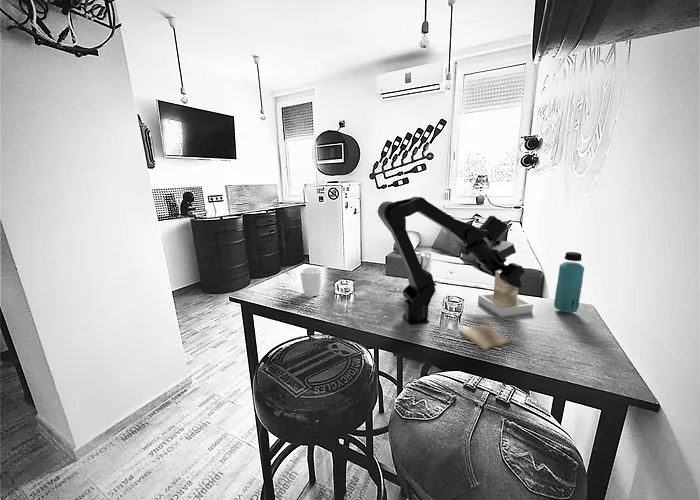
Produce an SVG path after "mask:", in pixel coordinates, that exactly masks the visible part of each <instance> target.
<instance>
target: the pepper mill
mask: <svg viewBox="0 0 700 500" xmlns="http://www.w3.org/2000/svg"><path fill="white" fill-rule="evenodd" d="M501 272H502V271H499V270H498V271H496V273H495V277H494V286H493V293H494V294H493V302H494V303H495V304H497V305H498V306H500V307H509V306H516V303H517V297H518V294H519V288H517V287H514V286H512V285H509V284H507V283H504V282H503V281H502V280H501V279H500V278H499V277H500V273H501Z"/></svg>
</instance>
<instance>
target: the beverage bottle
mask: <svg viewBox="0 0 700 500" xmlns="http://www.w3.org/2000/svg"><path fill="white" fill-rule="evenodd" d="M564 260H566V261H564V262H562V263H561V264H560V265H559V269H558V275H557V283H556V285H555V287H556V288H555V295H554V298H553V299H554V302H553V307H554V308H555V309H556V310H558V311H561V312H565V313H573V314H574V313H577V312H578V311H579V310H578V309H579V308H580V301H581V299H580V298H581V293H582V286H583V281H584V272H585V267H584V266H583V265H582V264H581V263H579V262H581V261H582V253H580V252H577V251H567V252H565V255H564Z"/></svg>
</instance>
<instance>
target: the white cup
mask: <svg viewBox="0 0 700 500" xmlns="http://www.w3.org/2000/svg"><path fill="white" fill-rule="evenodd" d="M321 271H322V269H321V268H318V267H307V268H303V269H301V270H300V278H301V279H300V280H301V284H302V286H301V287H302V289H303V290H302V291H303V296H304V295H305V296H307V297H306V298H314V297H313V296H317V295H319V294H320V295H321V290H322V289H321V287H322V279H321V278H322V272H321ZM320 295H319V296H320ZM305 296H304V297H305ZM317 297H318V296H317Z"/></svg>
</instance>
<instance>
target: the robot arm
mask: <svg viewBox="0 0 700 500" xmlns="http://www.w3.org/2000/svg"><path fill="white" fill-rule="evenodd" d="M416 213H419V214H420V215H422V216H423V217H425V218H427V219H428V220H429V221H431V222H434V223H435V224H436V225H438V226H440V227H441V228H442V229H444V230H445V231H446V233H447V234H448V235H449V236H450V237H451V238H452V239H454V240H455V241H457V242H461V243H463V244H464V245H461V247H460V251H459V253H460V254H462V255H465V256H469V255H472V257H473V258H474V259H473V260H471V266H472V267H473V268H474V269H476V270H478V271H480V272H482V273H484V274H487V275H489V276H491V277H494V278H495V273H496V271H502V272H501V273H500V277H499V278H500V279H501V280H502V281H503V282H504V283H507V284H509V285H512V286H514V287H517V288H518V289H521V288H522V286H523V285H522V281H521V277H522V275H523V274H524V273H525V272H526V270H525V268H524V267H523V266H522V265H519V264H517V263H515V262H510V263H509V264H504V263H506V262H507V258H509V257H510V256H511V255H514V254H516V253H517V252H516V248H515V245H514V243H513V242H510V241H506V240H501V241H500V240H499V239H500V238H501V237H502V236H503V235H504V234H505V233H506V231H508V230H509V226H508V225H507V223H506V222H503V221H502V220H500V219H499V218H497V217H496V216H495V215H489V216H488V217H487V218H486V220H485V221H484V222H483V223H482V224H481V225H480V227H477V226H474V225H472V224H470V223H467V222H465V221H462V220H458V219H456V218H454V217H453V216H451V215H450V214H448V213H446V212H445V211H443V210H442V209H440V208H438V207H437V206H435V205H434V204H432V203H431V202H429V201H427V200H426V198H424V197H422V196H412V197H409V198H406V199H401V200H396V201H394V202H393V201H390V200H388V201H383V202H382V203H380V205H379V206H378V209H377V214H378V217H379V219H380V220H381V222H382V223H383V225H384V226H385V227H386V228H387V230H388V231H389V232H390V233H391V236H392V238H393V240H394V242H395V245H396V247H397V250H398V252H399V254H400V256H401V258H402V262H403V263H404V266H405V268H406V271H407V280H408V285H407V286H406V287H405V288H404V289H403V290H402V295H403V297H404V298H405V299H406V300H404V313H403V314H402V317H403V318H404V319H405V320H406V322H407V323H408V324H409V325H418V324H425V323H430V320H429V319H428V318H429V305H430V303H431V301H432V298H433V296H434V295H435V293H436V286H437V284H436V283H435V281H434V277H433V275H432V273H431V272H430V273H429V272H428V271H426V270H425V269H422V267H421V265H420V263H419V260H418V258H417V255H416V253H417V252H416V250H415V248H414V246H413V243H412V240H411V238H410V235H409V234H408V231H407V226H406V225H407V219H406V218H407V217H410V216H413V214H416ZM490 243H491V244H490ZM489 244H490V245H489Z"/></svg>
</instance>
